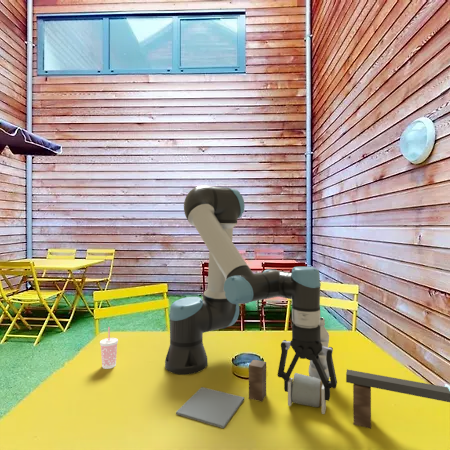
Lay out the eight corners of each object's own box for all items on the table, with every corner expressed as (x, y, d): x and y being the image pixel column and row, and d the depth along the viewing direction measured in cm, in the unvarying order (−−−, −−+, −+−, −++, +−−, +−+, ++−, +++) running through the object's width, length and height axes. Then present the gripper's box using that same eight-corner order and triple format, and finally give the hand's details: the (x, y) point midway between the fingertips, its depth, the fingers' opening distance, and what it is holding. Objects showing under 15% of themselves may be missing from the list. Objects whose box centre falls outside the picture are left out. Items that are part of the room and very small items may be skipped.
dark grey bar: (346, 382, 79) (346, 374, 79) (346, 376, 82) (346, 369, 82) (450, 402, 70) (450, 393, 70) (447, 395, 72) (447, 387, 72)
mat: (176, 414, 82) (176, 411, 82) (201, 388, 95) (201, 386, 95) (223, 428, 76) (223, 426, 76) (244, 399, 89) (244, 397, 89)
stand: (248, 398, 89) (248, 365, 89) (253, 391, 93) (253, 359, 93) (371, 428, 76) (370, 389, 76) (370, 419, 80) (370, 381, 80)
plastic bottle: (319, 388, 95) (318, 323, 95) (304, 378, 101) (303, 317, 101) (334, 383, 98) (334, 320, 98) (318, 374, 104) (318, 314, 104)
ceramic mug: (322, 414, 82) (322, 384, 82) (291, 408, 85) (291, 379, 85) (323, 394, 92) (323, 368, 92) (295, 389, 95) (295, 364, 95)
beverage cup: (97, 365, 111) (97, 326, 111) (114, 360, 115) (114, 323, 115) (103, 371, 107) (103, 330, 107) (120, 366, 111) (120, 327, 111)
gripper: (264, 323, 86) (265, 405, 85) (346, 333, 77) (347, 425, 77) (272, 315, 92) (273, 392, 92) (348, 324, 84) (348, 409, 83)
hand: (306, 407), depth 84 cm, fingers closed on ceramic mug, 8 cm apart
